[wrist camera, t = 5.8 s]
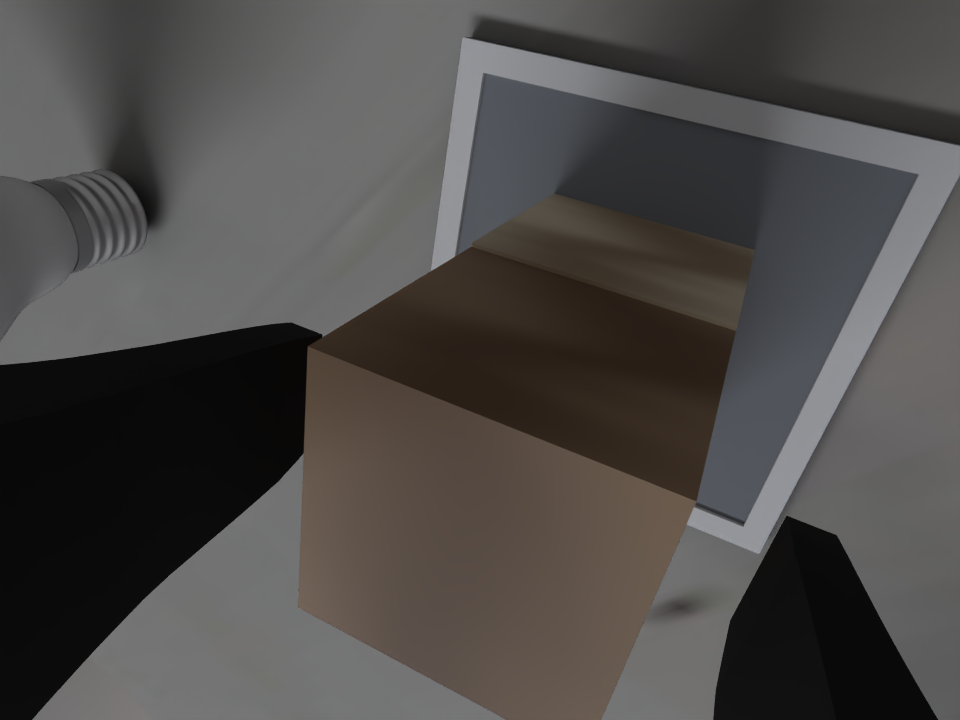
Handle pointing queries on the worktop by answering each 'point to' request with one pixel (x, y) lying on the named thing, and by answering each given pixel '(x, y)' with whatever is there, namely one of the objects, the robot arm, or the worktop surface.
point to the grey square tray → (714, 230)
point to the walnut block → (504, 478)
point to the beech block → (628, 257)
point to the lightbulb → (62, 232)
